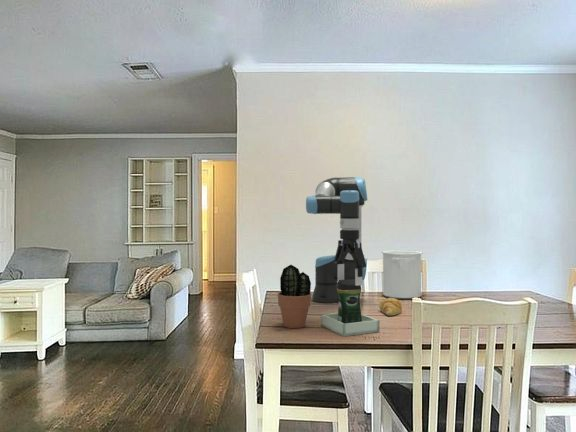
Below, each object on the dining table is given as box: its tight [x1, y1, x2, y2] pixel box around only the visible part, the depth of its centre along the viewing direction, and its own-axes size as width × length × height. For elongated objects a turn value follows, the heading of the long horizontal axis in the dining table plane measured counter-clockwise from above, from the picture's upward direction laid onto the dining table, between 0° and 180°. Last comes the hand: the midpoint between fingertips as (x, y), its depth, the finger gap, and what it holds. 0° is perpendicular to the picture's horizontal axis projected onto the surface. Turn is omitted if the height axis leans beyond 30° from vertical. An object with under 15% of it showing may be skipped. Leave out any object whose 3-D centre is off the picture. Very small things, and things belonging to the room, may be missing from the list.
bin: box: [320, 312, 380, 337], centre depth 187 cm, size 18×16×4 cm
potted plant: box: [277, 264, 312, 329], centre depth 192 cm, size 14×14×25 cm
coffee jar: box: [337, 279, 362, 324], centre depth 187 cm, size 10×8×19 cm
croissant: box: [379, 298, 403, 317], centre depth 218 cm, size 21×10×8 cm, turn 165°
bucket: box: [381, 249, 423, 301], centre depth 257 cm, size 26×22×24 cm
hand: (349, 282), depth 187 cm, fingers open, 13 cm apart
